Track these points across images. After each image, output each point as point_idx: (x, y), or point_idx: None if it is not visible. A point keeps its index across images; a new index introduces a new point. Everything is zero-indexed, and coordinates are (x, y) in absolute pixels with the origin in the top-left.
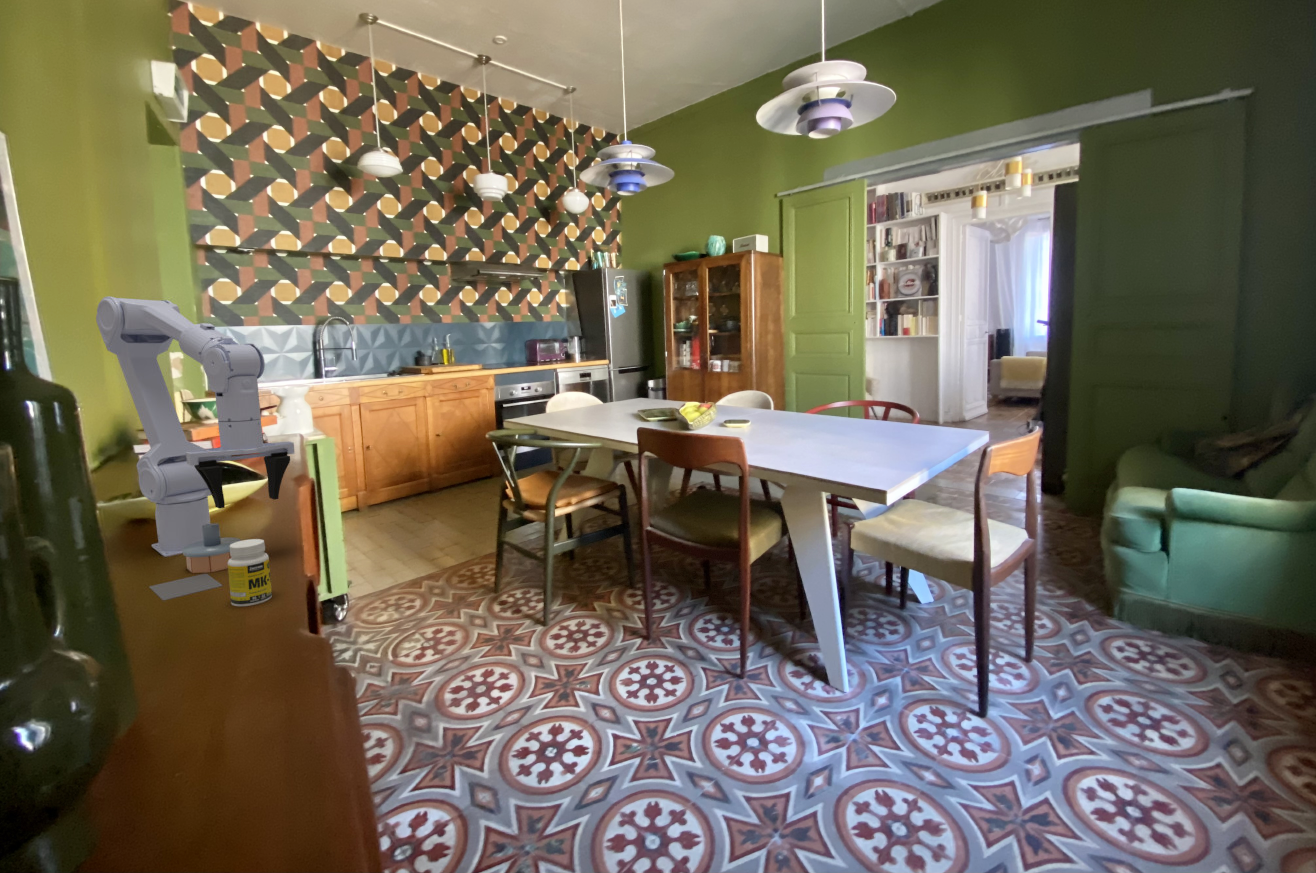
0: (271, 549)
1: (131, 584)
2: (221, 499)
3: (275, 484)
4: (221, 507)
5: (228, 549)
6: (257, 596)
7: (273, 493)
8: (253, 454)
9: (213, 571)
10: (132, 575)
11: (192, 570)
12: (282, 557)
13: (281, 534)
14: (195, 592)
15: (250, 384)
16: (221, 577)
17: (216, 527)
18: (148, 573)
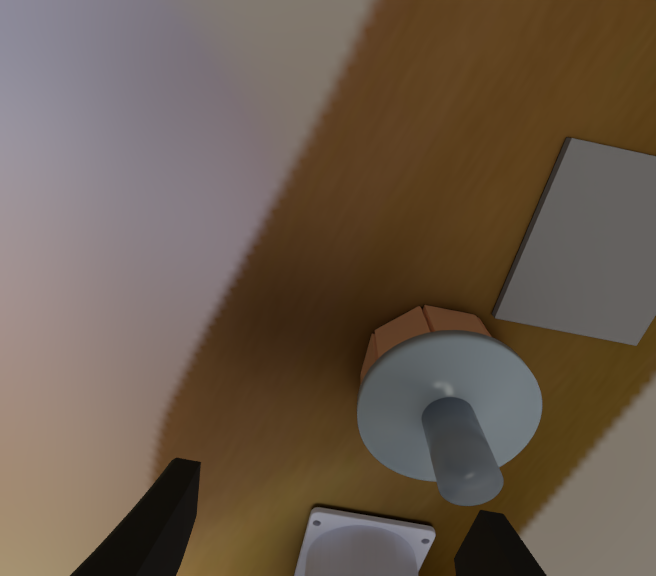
0: (243, 383)
1: (607, 416)
2: (524, 567)
3: (137, 560)
4: (499, 516)
5: (447, 335)
6: None
7: (183, 502)
8: None
9: (471, 318)
10: (552, 474)
11: None
12: (266, 279)
13: (156, 479)
14: (652, 156)
15: None
16: (484, 259)
17: (462, 454)
18: (528, 459)
